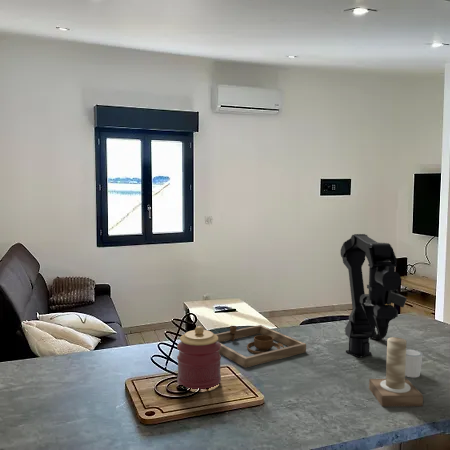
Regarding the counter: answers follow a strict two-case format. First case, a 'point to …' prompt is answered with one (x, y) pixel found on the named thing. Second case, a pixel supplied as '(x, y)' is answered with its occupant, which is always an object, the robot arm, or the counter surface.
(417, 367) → the white short cylinder
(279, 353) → the oak tray rim
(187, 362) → the canister
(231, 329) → the place setting
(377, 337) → the controller
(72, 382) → the counter surface
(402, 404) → the walnut plinth
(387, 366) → the birch pillar
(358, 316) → the robot arm
